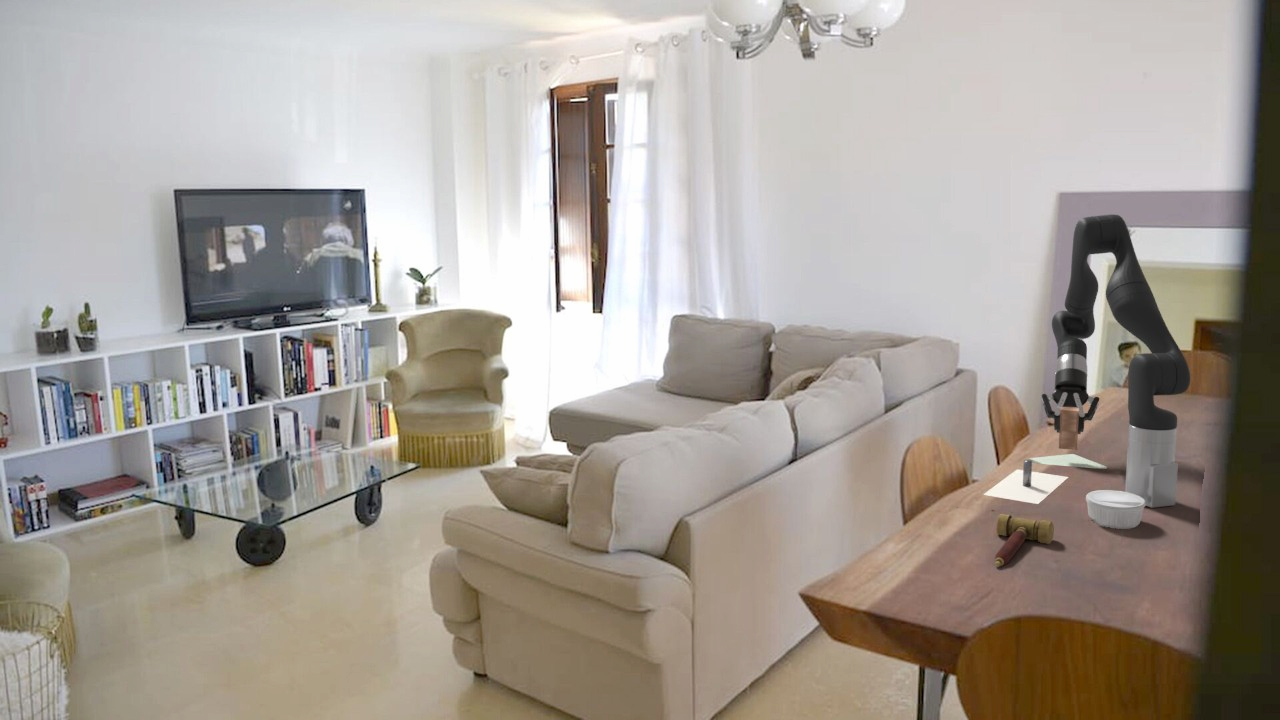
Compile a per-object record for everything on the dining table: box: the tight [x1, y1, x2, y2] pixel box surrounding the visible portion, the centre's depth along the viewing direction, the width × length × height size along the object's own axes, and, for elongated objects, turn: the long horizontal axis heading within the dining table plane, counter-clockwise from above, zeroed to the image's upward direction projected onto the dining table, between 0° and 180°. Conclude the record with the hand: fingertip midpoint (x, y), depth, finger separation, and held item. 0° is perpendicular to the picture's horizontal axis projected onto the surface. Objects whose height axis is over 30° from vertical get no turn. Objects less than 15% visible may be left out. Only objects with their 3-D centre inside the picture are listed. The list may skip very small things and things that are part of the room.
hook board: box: [982, 459, 1069, 505], centre depth 218 cm, size 24×12×7 cm, turn 141°
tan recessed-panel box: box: [1058, 406, 1079, 451], centre depth 236 cm, size 4×4×10 cm
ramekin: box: [1085, 489, 1146, 530], centre depth 196 cm, size 11×11×5 cm
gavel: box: [994, 513, 1055, 568], centre depth 182 cm, size 21×5×10 cm
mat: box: [1028, 453, 1109, 470], centre depth 238 cm, size 13×13×1 cm
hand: (1068, 431), depth 235 cm, fingers closed on tan recessed-panel box, 4 cm apart
